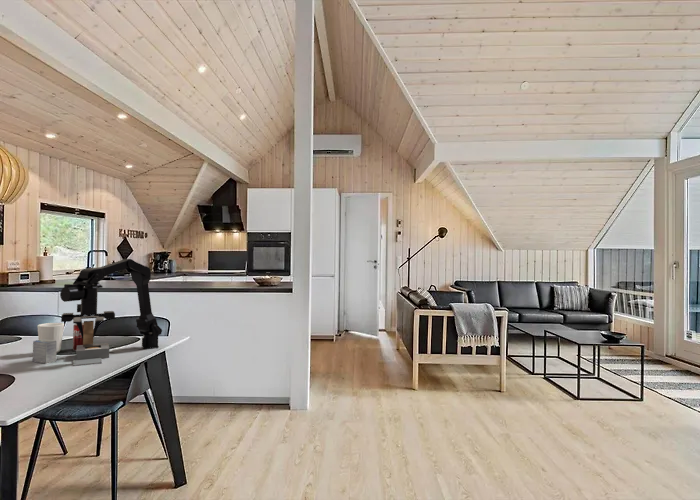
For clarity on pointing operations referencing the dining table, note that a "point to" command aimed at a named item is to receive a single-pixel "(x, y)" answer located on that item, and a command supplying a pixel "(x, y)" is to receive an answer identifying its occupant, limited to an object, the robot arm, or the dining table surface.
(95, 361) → the slate mat
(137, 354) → the dining table surface
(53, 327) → the cup
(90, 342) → the long wooden beam
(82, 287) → the robot arm
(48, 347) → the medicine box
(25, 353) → the dining table surface
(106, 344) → the box
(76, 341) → the soda can
